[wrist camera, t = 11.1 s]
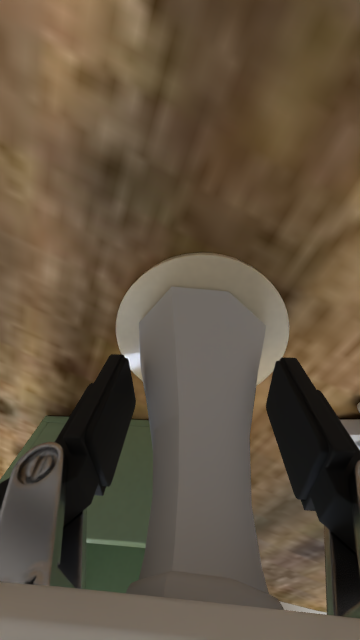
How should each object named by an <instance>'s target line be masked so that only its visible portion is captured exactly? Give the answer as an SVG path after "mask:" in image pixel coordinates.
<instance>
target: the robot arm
mask: <svg viewBox="0 0 360 640" xmlns="http://www.w3.org/2000/svg"><path fill="white" fill-rule="evenodd" d="M135 404H136V398H135V393H134V387H133V382H132V376H131V371H130V365H129V360H128V358H125V357H124V355H113V354H111V355H110V356H109V358H108V359H107V361H106V363H105V365H104V366H103V368H102V370H101V372H100V373H99V375H98V377H97V378H96V380H95V382H94V383H91V384H90V385H89V386H88V387H87V389H86V390H85V392H84V394H83V395H82V397H81V399H80V400H79V402H78V404H77V405H76V407H75V409H74V410H73V412H72V414H71V415H70V417H69V419H68V420H67V422H66V424H65V425H64V427H63V429H62V430H61V432H60V434H59V435H58V437H57V439H56V440H55V442H45V443H42V444H39V445H37V446H35V447H33V448H32V449H30V450H29V451H27V452H26V453H25V454H24V455H23V456H22V457H21V458H20V459H19V460H18V462H17V463H16V464H15V466H14V468H13V471H12V473H11V476H10V477H9V478H8V479H6V480H5V481H3V482H1V483H0V640H360V450H359V448H358V447H357V445H356V444H355V442H354V441H353V439H352V438H351V436H350V435H349V433H348V432H347V430H346V429H345V427H344V426H343V424H342V423H341V421H340V419H339V418H338V416H337V415H336V413H335V412H334V410H333V409H332V407H331V406H330V404H329V403H328V401H327V400H326V398H325V397H324V395H323V394H322V393H321V391H319V390H316V388H315V387H314V385H313V384H312V382H311V380H310V379H309V377H308V376H307V374H306V373H305V371H304V369H303V368H302V366H301V365H300V363H299V362H298V360H297V359H296V358H281V359H280V361H276V363H275V367H274V371H273V376H272V380H271V385H270V389H269V394H268V398H267V403H266V410H267V414H268V417H269V420H270V423H271V426H272V429H273V432H274V435H275V438H276V441H277V444H278V447H279V450H280V453H281V456H282V459H283V462H284V465H285V468H286V471H287V474H288V477H289V480H290V483H291V486H292V489H293V492H294V495H295V497H296V498H297V499H301V502H302V505H303V508H304V510H310V511H316V513H317V516H318V518H319V521H320V522H321V523H322V524H324V544H325V572H326V600H327V615H323V614H314V613H305V612H296V611H287V610H278V609H269V608H260V607H251V606H241V605H232V604H222V603H213V602H204V601H194V600H185V599H175V598H166V597H156V596H147V595H137V594H127V593H117V592H107V591H97V590H87V589H86V540H87V507H88V506H89V505H91V503H92V500H93V497H94V495H98V496H103V495H104V492H105V489H106V486H108V487H109V486H110V485H111V483H112V480H113V477H114V474H115V471H116V467H117V464H118V461H119V458H120V454H121V451H122V448H123V444H124V441H125V438H126V435H127V431H128V428H129V425H130V422H131V418H132V415H133V412H134V409H135Z"/></svg>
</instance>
